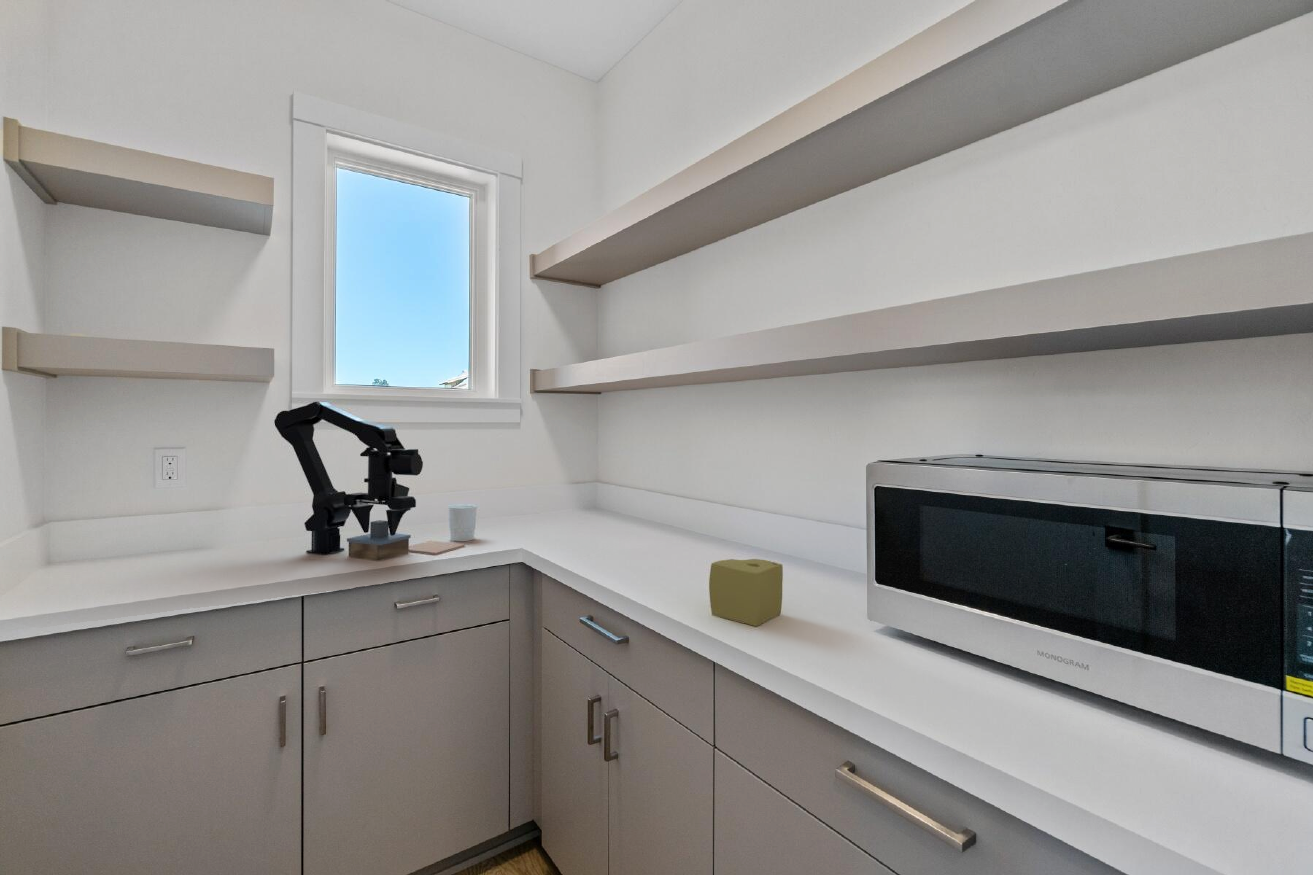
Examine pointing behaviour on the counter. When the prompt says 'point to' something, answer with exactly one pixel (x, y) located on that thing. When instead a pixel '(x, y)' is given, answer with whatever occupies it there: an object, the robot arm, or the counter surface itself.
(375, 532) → the lid
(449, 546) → the mat
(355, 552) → the box
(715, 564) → the cheese
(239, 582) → the counter surface
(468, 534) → the white cup
